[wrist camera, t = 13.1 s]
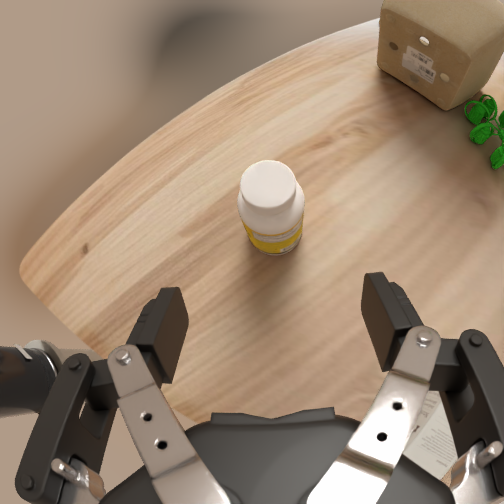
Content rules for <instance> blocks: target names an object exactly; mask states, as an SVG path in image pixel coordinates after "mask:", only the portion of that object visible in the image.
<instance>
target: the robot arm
mask: <svg viewBox="0 0 504 504" xmlns="http://www.w3.org/2000/svg"><path fill="white" fill-rule="evenodd" d="M361 311H362V316H363V319H364V321H365V324H366V327H367V329H368V332H369V335H370V338H371V341H372V343H373V346H374V349H375V352H376V355H377V358H378V361H379V364H380V367H381V370H382V372H386V371H389V372H388V374H387V376H386V378H385V380H384V382H383V384H382V386H381V388H380V390H379V392H378V394H377V395H376V397H375V399H374V401H373V403H372V405H371V406H370V408H369V410H368V412H367V413H366V415H365V417H364V418H363V420H362V422H359V421H357V420H355V419H352V418H349V417H345V416H340V415H335V412H334V407H328V408H320V409H310V410H302V411H299V412H296V413H292V414H289V415H285V416H282V417H278V418H274V419H269V418H264V417H258V416H253V415H248V414H243V413H212V414H211V421H206V422H203V423H200V424H197V425H195V426H193V427H191V428H189V429H187V430H186V431H185V430H184V429H183V427H182V426H181V424H180V422H179V421H178V419H177V417H176V416H175V414H174V412H173V411H172V409H171V407H170V406H169V404H168V402H167V400H166V399H165V397H164V395H163V393H162V391H161V390H160V389H161V386H162V383H168V384H172V381H173V377H174V374H175V370H176V367H177V363H178V360H179V356H180V353H181V349H182V346H183V343H184V339H185V336H186V332H187V329H188V324H189V319H188V313H187V310H186V307H185V303H184V300H183V297H182V293H181V290H180V288H179V287H166V288H161V290H160V292H159V294H158V296H157V298H156V299H152V300H150V301H149V302H148V303H147V304H146V305H145V306H144V308H143V310H142V312H141V314H140V316H139V318H138V320H137V323H136V324H135V326H134V328H133V330H132V332H131V334H130V336H129V338H128V340H127V342H126V344H125V345H122V346H119V347H117V348H115V349H114V350H113V351H112V352H111V353H110V354H109V356H108V359H104V360H99V361H93V362H91V360H90V359H89V357H88V356H87V355H86V354H82V353H78V354H74V355H72V356H70V357H69V358H68V359H67V360H66V361H65V362H64V363H63V365H62V367H61V369H60V371H59V372H58V369H57V367H56V365H55V363H54V361H53V359H52V358H51V357H50V355H49V354H48V353H46V352H45V351H44V350H42V349H38V348H30V349H28V348H22V347H21V346H20V345H18V344H14V345H15V346H16V347H17V348H16V347H4V346H0V418H5V417H12V416H19V415H25V414H32V413H38V412H40V414H39V416H38V419H37V421H36V423H35V426H34V428H33V430H32V433H31V436H30V438H29V441H28V443H27V446H26V449H25V451H24V454H23V457H22V459H21V462H20V465H19V468H18V472H17V475H16V478H15V487H16V491H17V493H18V494H19V496H20V497H21V498H22V499H24V500H26V501H28V502H29V503H31V504H499V503H501V502H502V501H504V367H503V365H502V363H501V361H500V359H499V357H498V355H497V353H496V352H495V350H494V348H493V346H492V344H491V343H490V341H489V339H488V338H487V336H486V335H485V334H484V333H482V332H480V331H478V330H475V329H468V330H465V331H464V332H463V333H462V334H461V336H460V338H459V339H444V338H440V335H439V334H438V333H437V332H436V331H435V330H434V329H432V328H430V327H427V326H424V325H423V323H422V321H421V319H420V317H419V316H418V314H417V312H416V310H415V309H414V307H413V305H412V304H411V302H410V300H409V298H407V295H406V293H405V292H404V290H403V288H401V287H400V286H399V285H397V284H396V283H395V282H390V283H389V282H388V280H387V278H386V277H385V275H384V273H383V272H376V273H366V274H365V276H364V283H363V292H362V300H361ZM428 391H438V392H439V395H440V398H441V401H442V404H443V407H444V410H445V413H446V416H447V420H448V423H449V426H450V430H451V433H452V437H453V441H454V445H455V448H456V452H457V457H458V460H457V461H456V462H455V463H454V465H453V467H452V471H451V484H450V487H448V486H447V485H446V484H445V483H443V482H442V481H440V480H439V479H437V478H436V477H434V476H433V475H432V474H430V473H429V472H427V471H426V470H425V469H423V468H422V467H420V466H419V465H418V464H416V463H415V462H413V461H412V460H411V459H409V458H408V457H407V456H405V455H404V454H403V453H402V452H403V450H404V448H405V446H406V444H407V442H408V440H409V437H410V435H411V433H412V431H413V428H414V426H415V424H416V421H417V419H418V417H419V414H420V412H421V409H422V406H423V404H424V401H425V398H426V396H427V393H428ZM84 401H85V402H86V403H85V406H84V409H83V411H82V414H81V417H80V419H79V413H80V410H81V408H82V405H83V403H84ZM117 408H120V411H121V413H122V416H123V418H124V421H125V423H126V426H127V428H128V430H129V432H130V435H131V437H132V439H133V442H134V444H135V446H136V448H137V450H138V452H139V455H140V457H141V459H142V461H143V463H144V465H143V466H142V467H141V468H140V469H138V470H137V471H136V472H135V473H133V474H132V475H131V476H130V477H128V478H127V479H126V480H124V481H123V482H122V483H120V484H119V485H118V486H116V487H115V488H114V489H112V490H111V491H109V492H108V493H107V494H106V491H105V489H104V483H103V480H102V478H101V477H100V475H99V472H100V468H101V465H102V461H103V457H104V452H105V449H106V445H107V441H108V438H109V434H110V431H111V427H112V424H113V420H114V417H115V414H116V411H117ZM105 494H106V495H105Z"/></svg>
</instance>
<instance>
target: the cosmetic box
mask: <svg viewBox="0 0 504 504" xmlns="http://www.w3.org/2000/svg"><path fill="white" fill-rule="evenodd" d="M402 453H403V454H404V455H405V456H407V457H408V458H409V459H411V460H412V461H413V462H415V463H416V464H418V465H419V466H420V467H422V468H423V469H425V470H426V471H427V472H429V473H430V474H432V475H433V476H434V477H436V478H437V479H439V480H441V479H442V478H443V476H444V475H445V474H446V473H447V472H448V470H449V469H450V468H451V467H452V465H453V464H454V463H455V461H456V460H457V459H458V457H457V452H456V448H455V445H454V441H453V437H452V433H451V430H450V426H449V423H448V420H447V416H446V413H445V410H444V407H443V404H442V401H441V398H440V395H439V392H438V391H428V393H427V396H426V398H425V401H424V404H423V406H422V409H421V412H420V414H419V417H418V419H417V421H416V424H415V426H414V428H413V431H412V433H411V435H410V437H409V440H408V442H407V444H406V446H405V448H404V450H403V452H402Z"/></svg>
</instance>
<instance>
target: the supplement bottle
mask: <svg viewBox="0 0 504 504" xmlns="http://www.w3.org/2000/svg"><path fill="white" fill-rule="evenodd" d="M304 206H305V199H304V194H303V191H302V189H301V187H300V185H299V184H298V183H297V182H296V179H295V176H294V174H293V172H292V171H291V169H290V168H289V167H287V166H286V165H285V164H283V163H281V162H278V161H274V160H264V161H260V162H257V163H254V164H253V165H251V166H250V167H249V168H247V170H246V171H245V172H244V173H243V175H242V178H241V181H240V192H239V194H238V199H237V207H238V212H239V215H240V217H241V220H242V222H243V224H244V227H245V229H246V231H247V234H248V236H249V239H250V241H251V242H252V244H253V245H254V246H255V248H257V249H258V250H259V251H261V252H263V253H265V254H268V255H282V254H285V253H287V252H289V251H291V250H292V249H293V248H294V247H295V246H296V245H297V244H298V242H299V240H300V238H301V235H302V228H303V216H304Z"/></svg>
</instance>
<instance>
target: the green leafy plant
mask: <svg viewBox="0 0 504 504" xmlns="http://www.w3.org/2000/svg"><path fill="white" fill-rule="evenodd" d="M485 96H489V97H490V98H491V99H486V100H485V101H484V102H483V103H482V100H483V98H484V97H485ZM470 103H477V104H476V105H475V106H473V107H472V109H471V111H470V112H469V114H467V111H466V107H467V105H468V104H470ZM494 110H495V113H494V116H493V117H492V118H491V119H489V118H490V116H491V115H492V113H493V112H494ZM465 114H466V116H467V118H468V119H469V120H470V121H471V122H472V123H473V124H475V125H478V126H476V127H475V128H474V129H473V130H472V131H471V133H470V138H471V140H472V141H473V142H475V143H478V144H484V142H485V141H486V140H487V139H488V138H490V137H491V136H492V135H498V136H499V137H500V139H501V140H502V145H501V146H500V147H499V148H497V149H496V150H495V151H494V152H493V153H492V155H491V157H490V159H491V162H492V167H493V168H494V169H498V168H499V167H501V166H502V165H503V164H504V144H503V142H504V130H503V129H501V128H500V127H502V128H504V111H503V112H502V113H501V115H500V116H499V118H498V120H499V122H500V126H499V124H498V122H497V121H496V119H495V118H496V116H497V105H496V102H495V100H494V99H493V97H491V96H490V95H483V96H482V97H481V98H480V101H476V100H472V101H469V102H468V103H467V104H466V106H465ZM486 117H487V118H488V119H487V118H486ZM482 118H484V119H486V120H487V121H486V122H485V123H480V121H481V120H482ZM492 120H495V121H496V123H497V125H498V127H499V128H500V130H498V129H497V128H496V127H495V126H494V125H492V124H491V123H490V122H489V121H492ZM492 126H493V127H494V128H495V129H496V130H497V131H498V134H495V133H493V132H494V129H493V127H492ZM490 127H491V131H490ZM472 136H473V138H472ZM478 136H479V137H478Z"/></svg>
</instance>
